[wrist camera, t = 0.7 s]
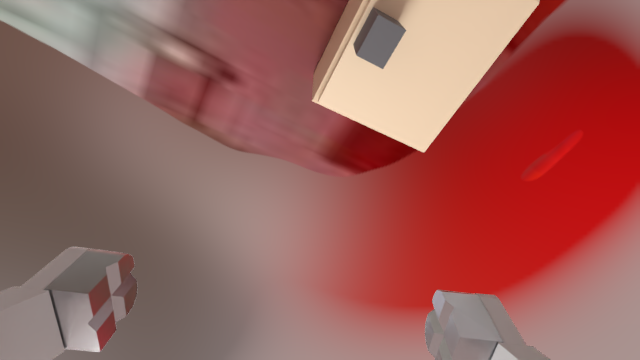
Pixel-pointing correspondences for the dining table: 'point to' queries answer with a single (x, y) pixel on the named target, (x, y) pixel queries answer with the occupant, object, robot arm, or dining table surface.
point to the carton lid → (419, 62)
